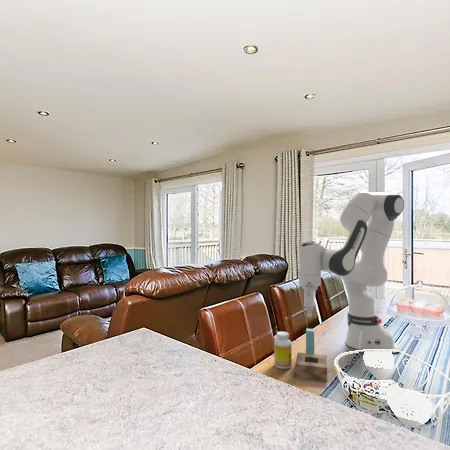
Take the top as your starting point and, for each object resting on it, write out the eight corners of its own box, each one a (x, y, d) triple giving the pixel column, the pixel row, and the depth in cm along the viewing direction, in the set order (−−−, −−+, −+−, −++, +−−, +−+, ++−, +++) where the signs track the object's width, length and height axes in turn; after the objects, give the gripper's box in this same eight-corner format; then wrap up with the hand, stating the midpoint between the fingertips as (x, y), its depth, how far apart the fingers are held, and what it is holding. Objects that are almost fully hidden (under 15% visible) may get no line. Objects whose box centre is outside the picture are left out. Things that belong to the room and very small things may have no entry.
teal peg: (314, 357, 132) (314, 329, 132) (314, 360, 129) (314, 331, 129) (306, 356, 133) (306, 328, 133) (306, 359, 130) (305, 330, 130)
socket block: (326, 368, 122) (326, 355, 122) (327, 382, 111) (326, 367, 111) (297, 365, 125) (297, 352, 125) (295, 377, 115) (295, 363, 115)
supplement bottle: (291, 370, 120) (291, 336, 120) (274, 369, 122) (273, 335, 122) (291, 363, 127) (291, 331, 127) (274, 361, 128) (274, 330, 128)
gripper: (317, 285, 120) (317, 321, 120) (318, 277, 140) (318, 308, 140) (300, 284, 122) (300, 320, 122) (303, 276, 142) (303, 307, 141)
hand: (309, 313), depth 131 cm, fingers open, 8 cm apart
